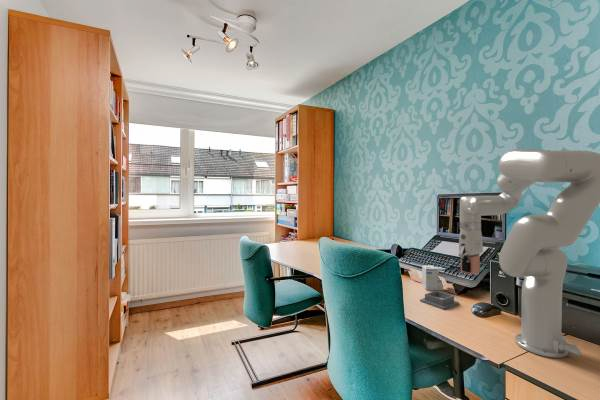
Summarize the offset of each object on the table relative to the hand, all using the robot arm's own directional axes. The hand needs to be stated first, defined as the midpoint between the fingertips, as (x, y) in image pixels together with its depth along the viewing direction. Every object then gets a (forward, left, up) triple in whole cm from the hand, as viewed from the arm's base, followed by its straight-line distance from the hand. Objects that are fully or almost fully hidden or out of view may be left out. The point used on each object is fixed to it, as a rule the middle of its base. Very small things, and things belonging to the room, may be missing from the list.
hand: (470, 270), depth 121 cm
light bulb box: (+22, -9, -16) cm, 28 cm away
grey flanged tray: (+10, +6, -15) cm, 19 cm away
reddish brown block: (0, 0, -1) cm, 1 cm away
